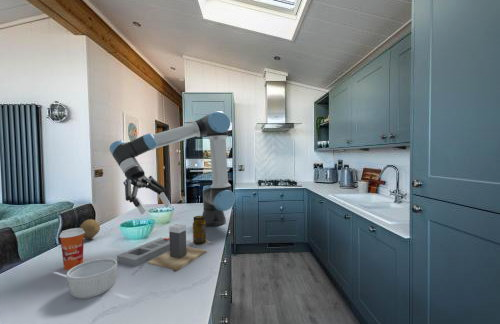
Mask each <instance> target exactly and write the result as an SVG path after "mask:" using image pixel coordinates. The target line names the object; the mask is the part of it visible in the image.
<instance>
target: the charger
mask: <svg viewBox="0 0 500 324" xmlns="http://www.w3.org/2000/svg"><path fill="white" fill-rule="evenodd" d="M168 233H169V237H168V238H169V239H170V250H169V251H170V257H174V258H179V259H180V258H182V257H184V256H185V255H187V250H186V246H187V226H186V225H185V224H180V223H179V224H178V223H175V224H173V225H171V226H168Z"/></svg>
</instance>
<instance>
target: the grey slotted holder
mask: <svg viewBox="0 0 500 324" xmlns="http://www.w3.org/2000/svg"><path fill="white" fill-rule="evenodd" d="M168 251H170V239H169V237H167V236H166V237H158V238H156V239H154V240H150V241H149V242H147V243H144V244H142V245H139V246H137V247H134V248H132V249H129V250H127V251H125V252H122V253H120V254H118V255H116V261H117V263H119V264H124V265H128V266H131V267H133V268H134V267H137V266H139V265H142V264H143V263H146V262H148V261H150V260H152V259H154V258H156V257H158V256H160V255H162V254H164V253H166V252H168Z"/></svg>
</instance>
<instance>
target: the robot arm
mask: <svg viewBox="0 0 500 324" xmlns="http://www.w3.org/2000/svg"><path fill="white" fill-rule="evenodd" d="M230 126H231V120H230V117H229V116H228V114H226V113H225V112H224V111H219V110H218V111H217V110H216V111H213V112H210V113H208V114H207V115H204V116H202V117H201V118H199V119H196V120H193V121H192V122H191V123H190V124H186V125H182V126H179V127H175V128H172V129H169V130H164V131H161V132H157V133H154V134H152V133H150V132H148V133H145V134H143V135H141V136H139V137H137V138H135V139H133V140H131V141H127V142H125V140H121V139H120V140H115V141H114V142H112V143H111V144H110V146H109V148H108V149H109V152H110V154H111V155H112V157H113V158H114V161H115V162H116V163H117V165H118V167H119V168H120V170H121V171H122V174H124V176H125V178H126V179H125V180H124V181H123V185H124V193H125V194H124V195H125V197H124V198H125V201H127V202H129V203H133V205H134V207H135V208H137V210H138V211H139V213H140V215H143V214H144V213H145V212H146V211H147V209H146V207H145V206H144V204H143V202H142V201H141V199H140V197H138V196H137V195H138V192H139V189H143V188H145V189H149V190H151V191H152V192H154V193H156V194H157V195H158V197H159V199H160V200H161V202H162V203H163V205H164V206H165V208H168V207H169V206H170V205H171V202H170V200H169V199H168V196H167V194H166V193H165V192H166V191H167V188H166V187H164V186H163V185H162V184H161V183H160V182H158V181H157V180H156V179H155V178H154V177H153V176H152V175H149V177H147V176H145V171H144V169H143V168H142V166H141V165H140V163H139V161H138V159H136V158H137V157H138V156H141V155H143V154H145V153H147V152H149V151H153V150H155V149H159V148H162V147H165V146H169V145H171V144H175V143H178V142H181V141H185V140H189V139H191V138H195V137H197V138H201V137H205V136H206V138H207V139H208V140H209V147H210V148H209V149H210V163H211V177H212V184H211V185H204V186H203V187H202V205H203V206H202V207H203V208H202V209H203V211H202V214H201V216H204V217H205V222H206V227H216V226H217V227H218V226H221V225H224V224H226V222H227V220H226V219H227V217H226V215H225V213H224V212H226V211H229V210H231V209H232V207H234V205H235V202H236V196H235V193H234V192H233V191H232V185H231V183H229V176H228V162H227V161H228V160H227V146H226V145H227V144H226V139H227V138H228V136H229V134H228V131H229V129H230Z"/></svg>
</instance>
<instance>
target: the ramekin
mask: <svg viewBox="0 0 500 324" xmlns="http://www.w3.org/2000/svg"><path fill="white" fill-rule="evenodd" d="M117 268H118V262H117V259H114V258H108V257H107V258H105V257H104V258H97V259H92V260H88V261H85V262H84V261H83V263H82V264H79V265H77V266H75V267H73V268H72V269H70V270H67V272H66V280H67V282H68V287H69V291H70V294H71V295H72V296H73V297H74V298H76V299H90V298H93V297H98V296H99V295H102V294H104V293H106V292H108V291H109V289H111V288H112V287H113V286H114V285H115V283H116V279H117V278H116V277H117Z"/></svg>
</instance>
